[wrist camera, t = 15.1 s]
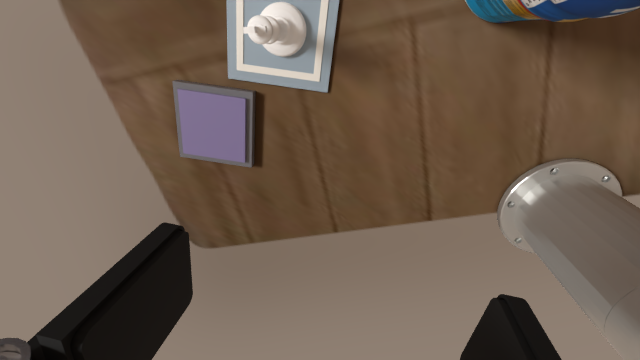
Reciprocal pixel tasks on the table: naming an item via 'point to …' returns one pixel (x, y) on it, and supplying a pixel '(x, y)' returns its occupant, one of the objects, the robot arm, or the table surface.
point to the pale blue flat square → (291, 71)
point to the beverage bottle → (549, 9)
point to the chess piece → (278, 29)
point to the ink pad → (215, 122)
